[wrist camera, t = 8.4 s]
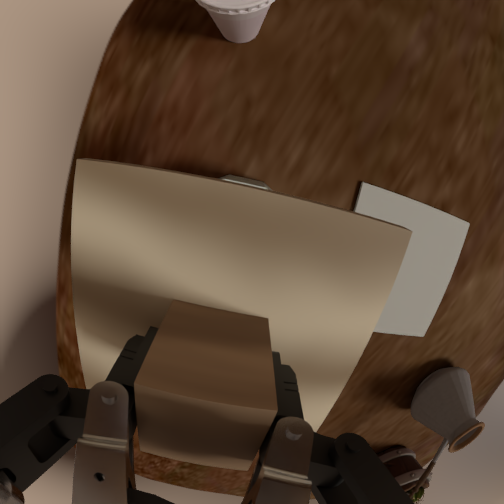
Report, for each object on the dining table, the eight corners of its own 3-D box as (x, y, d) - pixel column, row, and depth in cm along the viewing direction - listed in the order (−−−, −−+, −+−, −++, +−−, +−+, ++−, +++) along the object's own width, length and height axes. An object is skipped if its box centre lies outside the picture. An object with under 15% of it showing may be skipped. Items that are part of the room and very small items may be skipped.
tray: (361, 181, 26) (363, 182, 26) (467, 222, 28) (469, 223, 27) (316, 322, 31) (317, 324, 31) (422, 335, 33) (423, 336, 32)
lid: (86, 158, 10) (-13, 171, 5) (403, 226, 11) (491, 279, 6) (93, 392, 15) (59, 459, 9) (306, 433, 16) (319, 508, 10)
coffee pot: (432, 354, 34) (481, 424, 20) (471, 361, 35) (515, 416, 21) (360, 442, 41) (380, 507, 26) (404, 440, 42) (427, 496, 28)
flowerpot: (428, 433, 42) (461, 502, 23) (396, 469, 47) (417, 531, 28) (372, 443, 41) (399, 528, 22) (343, 478, 46) (358, 549, 27)
